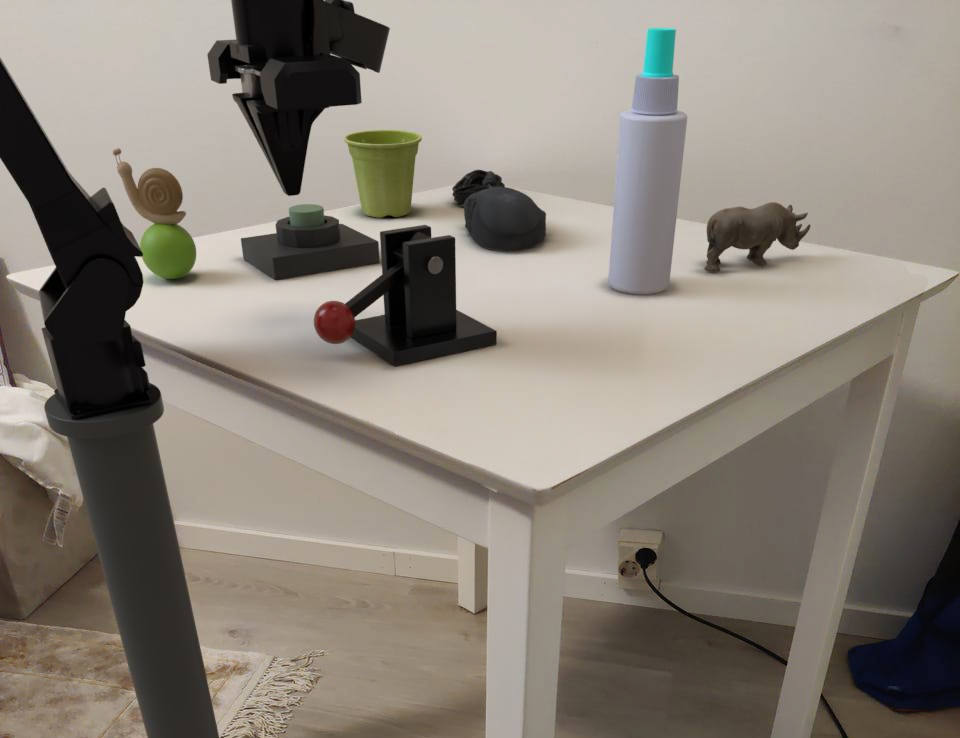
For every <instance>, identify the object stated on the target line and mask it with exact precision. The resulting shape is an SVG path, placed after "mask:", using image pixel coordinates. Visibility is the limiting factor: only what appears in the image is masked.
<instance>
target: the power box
mask: <svg viewBox="0 0 960 738" xmlns="http://www.w3.org/2000/svg"><path fill="white" fill-rule="evenodd" d="M324 220H325V224H323V225H320V226H313V227H296V226H291V225H290V216H286V217H284V218H280V219H278V220H276V222H275V232H274V233H269V234H262V235H261V234H260V235H254V236H253V235H252V236H247V237H241V238H240V244H241V251H242V258H243V260H244V261H245V262H247V263H248V264H250V265H252V266H253V267H255V268H256V269H257V270H259V271H261V272H262V273H264V274H265V275H267V276H268V277H271V279H273V280H275V281H276V280H282V279H289V278H295V277H301V276H306V275H312V274H319V273H325V272H330V271H331V272H332V271H337V270H343V269H350V268H355V267H362V266H368V265H375V264H378V263H380V262H381V261H380V246H379V245H380V244H379V241H378V240H377V239H375V238H372V237H370V236H368V235H366V234H364V233H362V232H361V231H359V230H356V229H354V228H353V227H350V226H347V225H346V224H343V223H340V219H338V218H336V217H334V216H331V215H325V214H324Z"/></svg>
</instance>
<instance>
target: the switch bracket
mask: <svg viewBox="0 0 960 738" xmlns="http://www.w3.org/2000/svg"><path fill="white" fill-rule="evenodd" d="M418 232H420V233H422V234H424V235H426V236H429V237H431V238H427V239H421V240H415V241H408V242H406V241H407V240H409V239H410V238H411V237H412V236H414V235H415V234H416V233H418ZM379 240H380V241H379V242H380V257H381V258H380V259H381V275H382V274H383V273H385V272H386V271H387V270H389V269H390V268H391V267H392V266H394V265H395V264H396V263H397V262H398V261H397V259H396V257H395V255H394V253H393V251H395V250H396V249H397V248H398V247H400V246H401V245H402V244H403V260H404V279H403V280H402V281H400V282H399V283H398V284H397V285H395V286H394V287H393V288H392V289H390V290H389V291H388V292H387V293H385V294H384V295H383V308H384V314H381V315H376V316H370V317H365V318H359V319H355V330H354V332H353V334H352V336H351V337H350V339H352V340H354V341H355V342H357V343H358V344H360V345H362V346H363V347H365V348H366V349H368V350H369V351H370V352H372V353H374V354H375V355H376V356H378V357H380V358H381V359H383V360H384V361H386V362H387V363H389V364H390V365H391V366H393V367H399V366H403V365H408V364H412V363H417V362H422V361H426V360H431V359H436V358H439V357H440V358H441V357H445V356H449V355H454V354H459V353H463V352H467V351H472V350H478V349H481V348H486V347H490V346H494V345H497V341H498V335H497V334H498V332H497V330H496V329H494V328H492V327H490V326H489V325H486V324H485V323H483V322H481V321H479V320H477V319H475V318H473V317H472V316H469V315H467V314H466V313H463V312H461V310H459V309H457V265H456V259H457V258H456V237H455V236H453V235H450V234H447V235H441V236H434V237H432V227H431V226H430V225H427V224H421V225H414V226H408V227H401V228H394V229H388V230H381V231H379Z"/></svg>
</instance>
